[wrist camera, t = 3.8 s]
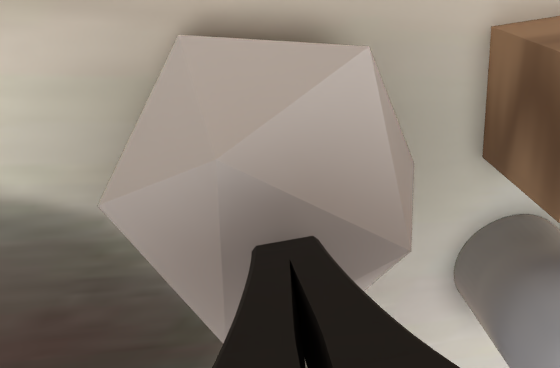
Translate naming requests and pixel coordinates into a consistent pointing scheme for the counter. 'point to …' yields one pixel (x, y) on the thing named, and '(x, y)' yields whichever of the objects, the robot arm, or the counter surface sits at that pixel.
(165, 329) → the counter surface
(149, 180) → the pale grey faceted polyhedron
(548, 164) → the walnut block
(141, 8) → the counter surface
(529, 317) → the grey cylinder
